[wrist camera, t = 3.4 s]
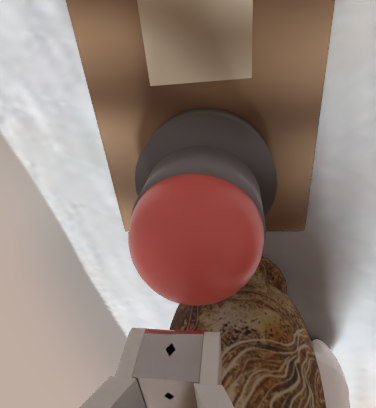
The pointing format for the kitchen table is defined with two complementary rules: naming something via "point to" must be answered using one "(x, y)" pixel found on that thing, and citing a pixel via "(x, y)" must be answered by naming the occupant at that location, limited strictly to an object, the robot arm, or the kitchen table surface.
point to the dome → (198, 226)
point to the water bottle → (331, 377)
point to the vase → (260, 344)
